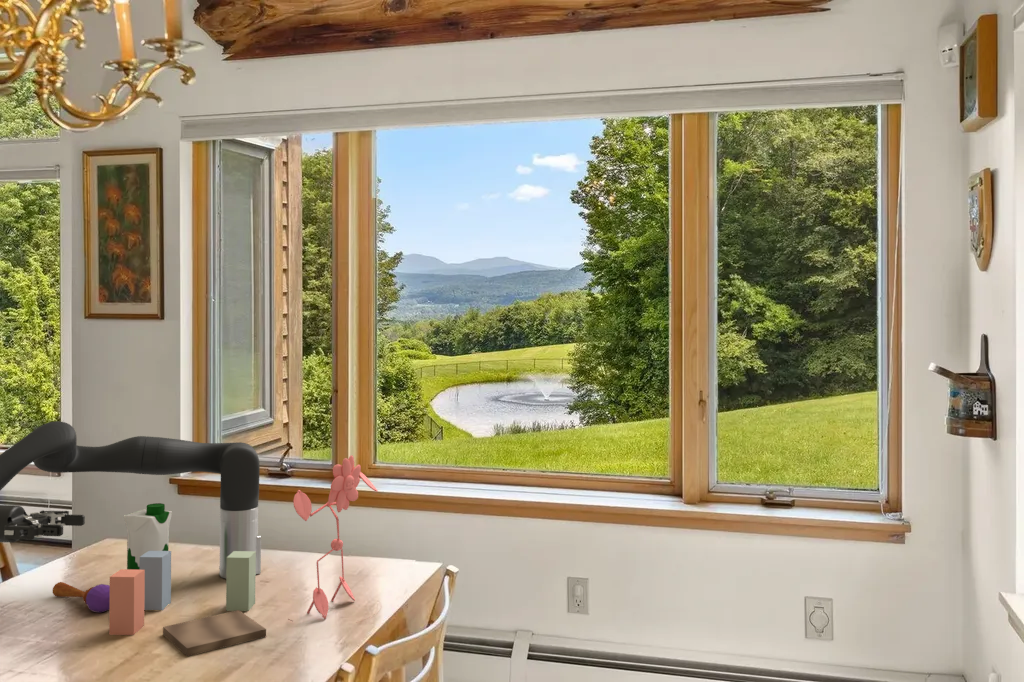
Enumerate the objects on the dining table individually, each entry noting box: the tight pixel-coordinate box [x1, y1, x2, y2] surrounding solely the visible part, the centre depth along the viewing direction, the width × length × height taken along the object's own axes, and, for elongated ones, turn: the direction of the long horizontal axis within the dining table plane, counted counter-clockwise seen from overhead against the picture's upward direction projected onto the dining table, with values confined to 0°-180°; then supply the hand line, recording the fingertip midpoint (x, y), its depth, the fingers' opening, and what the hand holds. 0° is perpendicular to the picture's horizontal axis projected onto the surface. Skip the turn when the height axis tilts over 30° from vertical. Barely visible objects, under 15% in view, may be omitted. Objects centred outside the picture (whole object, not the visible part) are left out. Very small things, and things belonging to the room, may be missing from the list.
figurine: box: [287, 454, 378, 622], centre depth 184 cm, size 15×26×35 cm, turn 157°
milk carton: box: [123, 502, 173, 570], centre depth 199 cm, size 9×9×20 cm
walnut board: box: [162, 610, 267, 657], centre depth 170 cm, size 16×14×2 cm
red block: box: [108, 568, 145, 636], centre depth 172 cm, size 5×5×12 cm
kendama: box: [52, 581, 110, 613], centre depth 187 cm, size 6×6×20 cm
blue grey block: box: [140, 550, 172, 611], centre depth 186 cm, size 5×5×12 cm
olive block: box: [225, 551, 257, 612], centre depth 187 cm, size 5×5×12 cm
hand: (73, 525), depth 171 cm, fingers open, 8 cm apart
